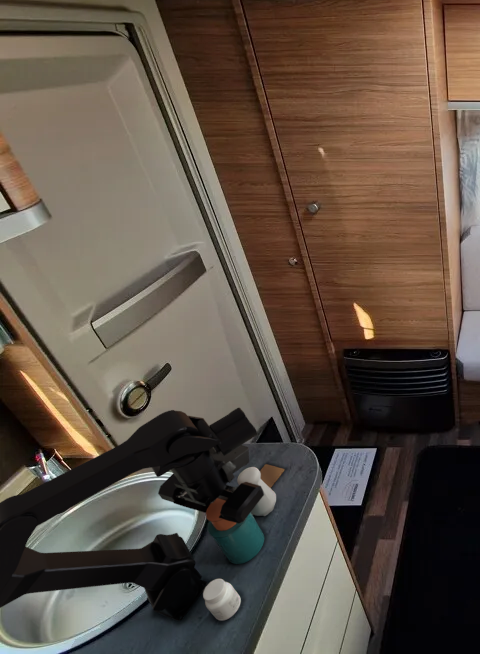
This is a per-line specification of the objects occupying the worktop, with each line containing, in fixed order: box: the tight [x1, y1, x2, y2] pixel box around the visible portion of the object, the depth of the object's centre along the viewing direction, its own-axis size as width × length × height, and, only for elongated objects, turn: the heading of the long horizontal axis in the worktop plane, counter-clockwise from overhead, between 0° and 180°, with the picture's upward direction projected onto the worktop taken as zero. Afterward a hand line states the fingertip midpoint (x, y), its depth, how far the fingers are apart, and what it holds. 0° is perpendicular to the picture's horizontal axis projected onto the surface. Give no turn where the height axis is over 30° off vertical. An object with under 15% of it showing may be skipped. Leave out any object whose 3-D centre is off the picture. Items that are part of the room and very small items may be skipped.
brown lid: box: [205, 498, 236, 531], centre depth 82 cm, size 5×5×4 cm
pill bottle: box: [202, 578, 242, 622], centre depth 78 cm, size 4×4×8 cm
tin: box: [207, 512, 265, 565], centre depth 86 cm, size 7×7×11 cm
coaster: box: [259, 463, 285, 489], centre depth 102 cm, size 6×6×1 cm
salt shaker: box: [236, 466, 277, 517], centre depth 93 cm, size 6×6×13 cm
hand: (226, 516), depth 83 cm, fingers open, 7 cm apart
